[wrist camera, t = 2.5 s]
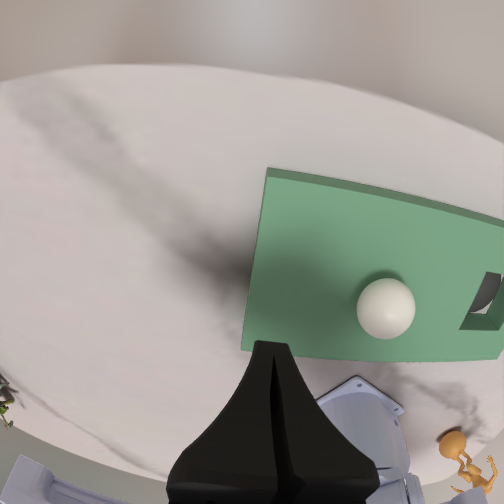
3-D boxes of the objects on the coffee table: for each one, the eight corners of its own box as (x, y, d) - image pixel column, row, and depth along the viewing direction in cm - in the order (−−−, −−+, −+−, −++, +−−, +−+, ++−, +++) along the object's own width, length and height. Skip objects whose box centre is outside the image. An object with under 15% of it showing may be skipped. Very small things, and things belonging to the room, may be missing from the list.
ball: (413, 290, 19) (434, 323, 16) (372, 323, 20) (386, 360, 17) (383, 256, 18) (404, 288, 15) (339, 294, 19) (351, 331, 16)
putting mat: (537, 232, 19) (554, 244, 17) (485, 342, 24) (496, 359, 22) (267, 167, 19) (267, 176, 16) (243, 327, 24) (240, 350, 22)
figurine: (455, 416, 30) (484, 492, 19) (484, 412, 30) (513, 480, 19) (422, 450, 33) (441, 519, 23) (451, 446, 34) (472, 509, 23)
